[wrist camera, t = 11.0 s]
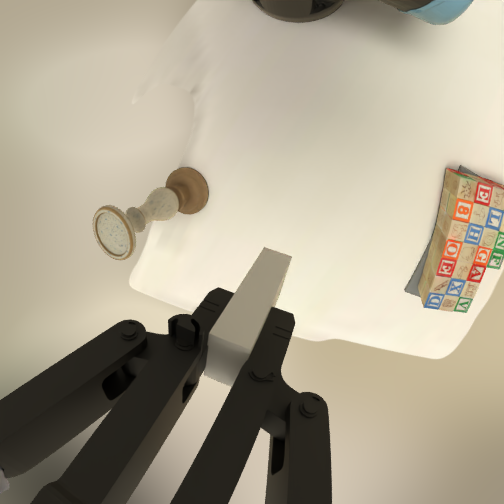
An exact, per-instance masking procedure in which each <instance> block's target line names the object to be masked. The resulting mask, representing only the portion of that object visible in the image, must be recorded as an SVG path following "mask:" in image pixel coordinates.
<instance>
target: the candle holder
mask: <svg viewBox="0 0 504 504" xmlns="http://www.w3.org/2000/svg"><path fill="white" fill-rule="evenodd" d="M207 200H208V187H207V184H206V181H205V180H204V178H203V177H202V175H201V174H200V173H198V172H197V171H195V170H194V169H191V168H179V169H177V170H175V171H173V172H172V173H171V174H170V176H169V177H168V179H167V182H166V187H160V188H157V189H155V190H154V191H152V193H151V194H150V195H149V196H148V198H147V200H146V202H145V203H144V204H143V205H141V206H140V207H138V208H135V207H131V208H129V209H128V210H127V211H126V213H125V214H124V213H123V212H122V211H121V210H120V209H118V208H117V207H115V206H111V205H106V206H103V207H101V208H100V209H99V210H97V212H96V213H95V216H94V219H93V231H94V235H95V238H96V240H97V242H98V244H99V246H100V247H101V248H102V250H103V251H104V252H105V253H106V254H107V255H108V256H110V257H111V258H113V259H116V260H125V259H127V258H129V257H130V256H131V255H132V254H133V252H134V250H135V247H136V236H135V232H136V233H139V232H142V231H143V230H144V228H145V225H146V224H147V223H149V222H151V221H155V220H156V221H165V220H169V219H171V218H172V217H174V216H175V214H176V213H177V212H178V211H179V212H181V213H183V214H194V213H197V212H199V211H200V210H201V209H202V208H203V207H204V206H205V204H206V202H207Z"/></svg>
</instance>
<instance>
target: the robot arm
mask: <svg viewBox="0 0 504 504" xmlns="http://www.w3.org/2000/svg"><path fill="white" fill-rule="evenodd" d="M252 1H253V2H254V3H255V4H256V5H257V6H258V8H259V9H261V10H262V11H263V12H264V13H266V14H267V15H269V16H271V17H273V18H276V19H279V20H283V21H288V22H310V21H315V20H319V19H322V18H324V17H326V16H328V15H330V14H332V13H333V12H335V11H336V10H337V9H338V8H339V7H340V6H341V5H342V3H343V1H344V0H252ZM378 1H381V2H384V3H386V4H388V5H391V6H393V7H395V8H397V9H398V10H399V11H400V12H402V13H405V14H410V15H413V16H415V17H417V18H419V19H421V20H423V21H425V22H427V23H430V24H434V25H444V24H448V23H450V22H452V21H454V20H455V19H456V18H458V17H459V16H460V15H461V14H462V13H463V12H464V11H465V10H466V9H467V8H468V7H469V6H470V4H471V3H472V2H473V0H378ZM291 258H292V257H291V256H288V255H286V254H283V253H280V252H277V251H274V250H271V249H268V248H265V247H264V249H263V250H262V252H261V253H260V255H259V256H258V258H257V259H256V261H255V263H254V264H253V266H252V267H251V269H250V270H249V272H248V273H247V275H246V277H245V278H244V280H243V281H242V283H241V284H240V286H239V287H238V289H237V291H236V292H235V293H232V292H230V291H227V290H224V289H222V288H219V287H218V288H216V289H214V290H212V291H210V292H209V293H208V294H207V296H206V297H205V298H204V300H203V301H202V302H201V303H200V305H199V307H197V309H196V310H195V311H194V313H193V314H192V315H189V314H179V315H175V316H173V317H171V318H170V319H169V320H168V329H169V334H167V335H164V334H156V333H150V332H146V330H145V327H144V326H143V325H142V324H141V323H139V322H138V321H135V320H123V321H121V322H119V323H117V324H116V325H114V326H112V327H111V328H109V329H108V330H106V331H105V332H103V333H102V334H100V335H98V336H97V337H95V338H94V339H93V340H91V341H89V342H88V343H86V344H84V345H83V346H81V347H80V348H78V349H77V350H75V351H74V352H72V353H71V354H69V355H68V356H66V357H65V358H63V359H62V360H60V361H58V362H57V363H55V364H54V365H53V366H51V367H49V368H48V369H46V370H45V371H43V372H42V373H40V374H39V375H38V376H36V377H34V378H33V379H31V380H30V381H28V382H27V383H25V384H24V385H22V386H21V387H19V388H18V389H16V390H15V391H13V392H12V393H10V394H9V395H8V396H6V397H4V398H3V399H1V400H0V493H2V492H3V491H5V490H8V489H9V482H8V480H7V479H6V478H10V477H15V476H18V475H20V474H23V473H24V472H26V471H28V470H30V469H31V468H33V467H34V466H36V465H37V464H38V463H39V462H41V461H43V460H44V459H45V458H47V457H48V456H50V455H51V454H52V453H54V452H55V451H56V450H58V449H59V448H61V447H62V446H63V445H65V444H66V443H67V442H69V441H70V440H71V439H72V438H74V437H75V436H76V435H78V434H79V433H81V432H82V431H83V430H85V429H86V428H87V427H88V426H90V425H91V424H92V423H94V422H95V421H96V420H97V419H99V418H100V417H102V416H103V415H104V414H105V413H107V412H108V411H109V410H111V411H110V412H109V413H108V415H107V416H106V417H105V419H104V420H103V421H102V422H101V424H100V425H99V426H98V428H97V429H96V430H95V432H94V433H93V434H92V436H91V437H90V438H89V440H88V441H87V443H86V444H85V445H84V447H83V448H82V449H81V451H80V452H79V453H78V455H77V456H76V457H75V459H74V460H73V461H72V463H71V464H70V466H69V467H68V468H67V469H66V471H65V472H64V474H63V475H62V476H61V477H60V479H58V480H57V481H55V482H52V483H49V484H47V485H46V486H44V487H43V488H42V489H41V490H40V491H39V493H38V494H37V496H36V497H35V498H34V500H33V501H32V503H31V504H126V503H127V501H128V500H129V498H130V496H131V495H132V493H133V492H134V490H135V489H136V487H137V485H138V484H139V482H140V481H141V479H142V477H143V476H144V474H145V473H146V471H147V469H148V468H149V466H150V464H151V463H152V461H153V460H154V458H155V456H156V455H157V453H158V451H159V450H160V448H161V446H162V445H163V443H164V442H165V440H166V438H167V437H168V435H169V433H170V432H171V430H172V428H173V427H174V425H175V423H176V421H177V420H178V418H179V417H180V415H181V413H182V412H183V410H184V408H185V407H186V405H187V403H188V402H189V400H190V398H191V397H192V395H193V393H194V391H195V390H196V388H197V386H198V383H199V378H200V376H201V374H202V373H203V371H204V375H205V376H207V377H209V378H211V379H214V380H216V381H218V382H221V383H223V384H226V385H228V386H231V387H232V388H231V390H230V392H229V394H228V396H227V398H226V400H225V402H224V404H223V406H222V408H221V410H220V412H219V414H218V416H217V418H216V420H215V422H214V424H213V426H212V428H211V430H210V431H209V433H208V435H207V437H206V439H205V441H204V443H203V445H202V447H201V449H200V451H199V453H198V454H197V456H196V458H195V460H194V462H193V464H192V465H191V467H190V469H189V471H188V473H187V474H186V476H185V478H184V480H183V482H182V483H181V485H180V487H179V489H178V491H177V492H176V494H175V496H174V498H173V499H172V501H171V503H170V504H228V502H229V500H230V498H231V496H232V494H233V492H234V489H235V487H236V485H237V483H238V481H239V478H240V476H241V473H242V471H243V469H244V467H245V464H246V462H247V460H248V457H249V455H250V453H251V450H252V448H253V445H254V443H255V440H256V438H257V435H258V433H259V430H260V428H262V429H264V430H265V431H267V432H268V433H269V434H270V448H269V461H268V475H267V486H266V499H265V504H332V478H331V451H330V431H329V416H328V407H327V404H326V402H325V401H324V400H323V398H322V397H320V396H319V395H317V394H315V393H311V392H302V393H298V392H297V391H295V390H294V389H292V388H291V387H290V386H289V385H287V384H286V383H285V381H284V380H283V378H282V375H281V366H282V363H283V360H284V357H285V354H286V351H287V348H288V345H289V341H290V339H291V336H292V332H293V329H294V326H295V320H294V315H293V314H292V313H289V312H286V311H283V310H280V309H278V308H275V305H276V302H277V300H278V298H279V295H280V292H281V289H282V286H283V283H284V280H285V276H286V273H287V270H288V267H289V264H290V261H291Z"/></svg>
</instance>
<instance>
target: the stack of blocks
mask: <svg viewBox="0 0 504 504" xmlns="http://www.w3.org/2000/svg"><path fill="white" fill-rule="evenodd" d="M503 259H504V185H501V184H498V183H495V182H493V181H491V180H488V179H485V178H482V177H477V176H474V175H470V174H466V173H462V172H459V171H456V170H452V169H448V168H447V169H446V175H445V181H444V188H443V193H442V198H441V204H440V209H439V214H438V218H437V223H436V226H435V231H434V234H433V238H432V241H431V245H430V249H429V252H428V257H427V259H426V262H425V266H424V269H423V273H422V276H421V279H420V282H419V284H418V290H419V293H420V296H421V300H422V304H423V307H424V308H431V309H437V310H438V309H439V310H444V311H452V312H453V311H455V312H464V313H467V311H468V309H469V307H470V305H471V303H472V300H473V298H474V296H475V294H476V292H477V290H478V287H479V285H480V282H481V280H482V277H483V275H484V272H485V270H486V267H488V268H494V269H500V267H501V264H502V262H503Z"/></svg>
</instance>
